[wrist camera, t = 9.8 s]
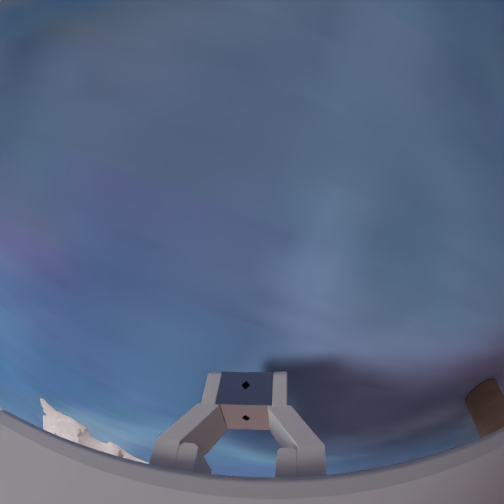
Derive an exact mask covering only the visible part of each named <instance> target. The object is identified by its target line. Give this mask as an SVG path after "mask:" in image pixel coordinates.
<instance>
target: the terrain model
mask: <svg viewBox="0 0 504 504" xmlns="http://www.w3.org/2000/svg"><path fill="white" fill-rule="evenodd" d="M40 399H41V405H42V407H43V409H44V410H43V411H44V412H45V413H46V416H45V415H43V428H44V430H46V431H48V432H51V433H53V434H55V435H58V436H60V437H63V438H65V439H68V440H70V441H73V442H76V443H78V444H81V445H84V446H87V447H90V448H93V449H96V450H99V451H102V452H105V453H108V454H112V455H115V456H119V457H123V458H126V459H130V460H134V461H138V462H142V463H147V464H149V463H148V462H145V461H143V460H140V459H137V458H135V457H133V456H131V455H130V454H128V453H126V452H125V451H124V450H123V449H122V448H121V447H119V446H117V445H115V444H114V443H112V442H109V443H102V442H100V441H98V440H96V439H94V438H93V437H92V436H91V435H90V434H89V432H88V431H87V429H88V428H87V427H86V426H84V425H82V424H81V423H79V421H75V420H74V419H72V418H70V417H68V416H64V415H63V414H61V413H60V412H56V411H55V410H54V409H53V408H52V407H51V406H50V405H48V404H47V403H46V401H44V400H43V399H42V398H40Z"/></svg>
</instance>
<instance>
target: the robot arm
mask: <svg viewBox="0 0 504 504" xmlns="http://www.w3.org/2000/svg"><path fill="white" fill-rule="evenodd" d="M227 429H253V430H270V432H271V433H272V435H273V436H274V438H275V439H276V441H277V442H278V444H279V445H280V447H281V448H280V449H279V450H278V451H277V460H276V475H275V477H241V476H226V475H215V474H211V471H212V470H211V468H210V467H209V465H208V463H207V462H206V460H205V458H204V456H205V455H206V454H207V453H208V452H209V450H210V449H211V448H212V447H213V446H214V445H215V444H216V443H217V441H218V440H219V439H220V438H221V437H222V436H223V435H224V433H225V432H226V431H227ZM0 504H504V427H503V428H501V429H499V430H497V431H495V432H492V433H490V434H488V435H485V436H483V437H481V438H478V439H476V440H473V441H471V442H468V443H465V444H463V445H460V446H457V447H454V448H452V449H449V450H446V451H442V452H439V453H436V454H433V455H429V456H426V457H422V458H419V459H415V460H411V461H407V462H403V463H399V464H394V465H390V466H385V467H380V468H374V469H369V470H362V471H356V472H349V473H341V474H332V475H326V459H325V445H324V444H323V443H322V441H321V440H320V439H319V438H318V437H317V436H316V435H315V433H314V432H313V431H312V430H311V429H310V427H309V426H308V425H307V424H306V423H305V422H304V420H303V419H302V418H301V417H300V416H299V414H298V413H297V412H296V411H295V409H294V408H293V407H292V406H291V405H287V371H286V372H248V373H245V372H219V371H210V372H209V374H208V377H207V381H206V385H205V389H204V393H203V397H202V401H201V403H197V404H196V405H195V406H194V407H193V408H191V409H190V410H189V411H188V412H187V413H186V414H185V415H183V416H182V417H181V418H180V419H179V420H177V421H176V422H175V423H174V424H173V425H172V426H170V427H169V428H168V429H167V430H166V431H164V432H163V433H162V434H161V435H159V436H158V437H157V440H156V443H155V446H154V449H153V453H152V456H151V459H150V462H149V464H147V463H142V462H138V461H134V460H130V459H126V458H123V457H119V456H115V455H112V454H108V453H105V452H102V451H99V450H96V449H93V448H90V447H87V446H84V445H81V444H78V443H76V442H73V441H70V440H68V439H65V438H63V437H60V436H58V435H55V434H53V433H51V432H48V431H46V430H44V429H41V428H39V427H37V426H35V425H33V424H31V423H29V422H27V421H25V420H23V419H21V418H19V417H17V416H15V415H13V414H11V413H9V412H7V411H5V410H1V411H0Z"/></svg>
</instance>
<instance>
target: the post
mask: <svg viewBox="0 0 504 504" xmlns="http://www.w3.org/2000/svg"><path fill="white" fill-rule="evenodd" d="M466 404H467V406H468V409H469V411H470V413H471V416H472V418H473V421H474V423H475V426H476V428H477V431H478V433H479V436H480V438H481V437H483V436H485V435H488V434H490V433H492V432H495V431H497V430H499V429H501V428H503V427H504V396H503V394H502V392H501V390H500V388H499V386H498V384H497V382H496V380H494V379H491V380H488V381H485V382H483V383H482V384H480V385H479V386H477V387H476V388H475V389H474V390H473V391H472V392H471V393H470V394H469V395H468V397H467V398H466Z"/></svg>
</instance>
